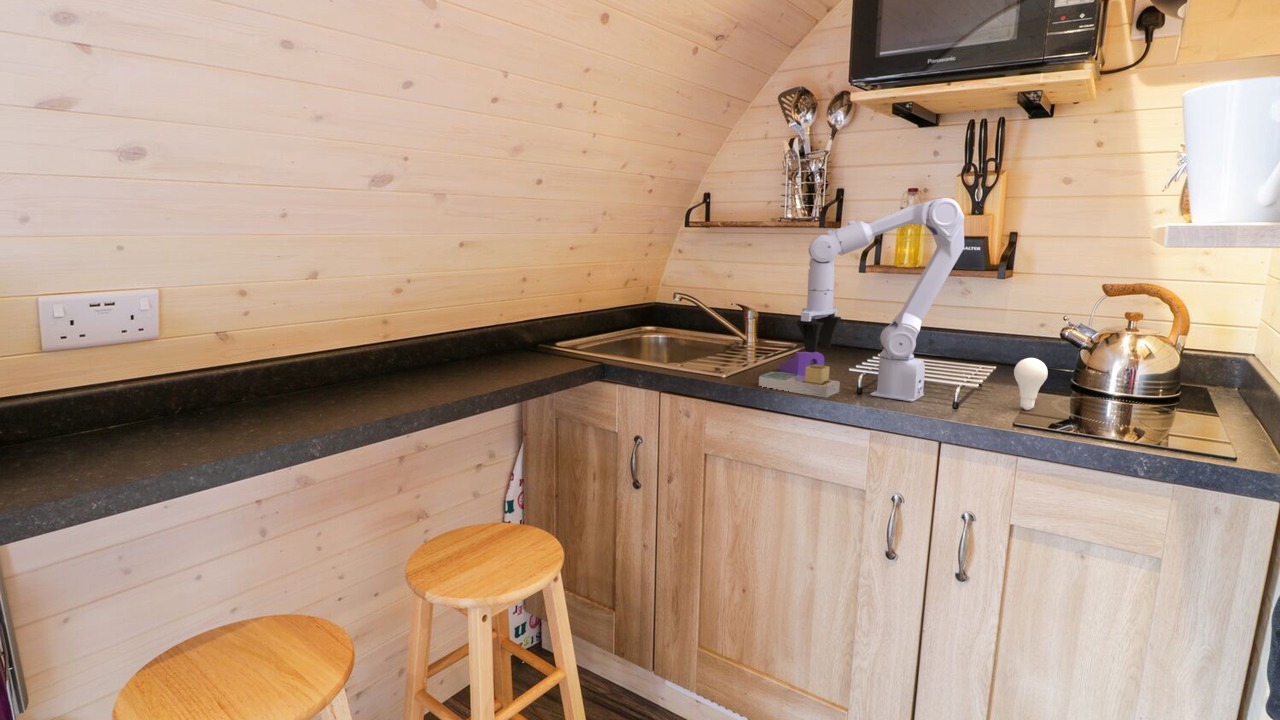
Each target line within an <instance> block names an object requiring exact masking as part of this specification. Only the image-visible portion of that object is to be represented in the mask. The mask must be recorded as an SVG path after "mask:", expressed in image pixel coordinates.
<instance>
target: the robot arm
mask: <svg viewBox="0 0 1280 720" xmlns="http://www.w3.org/2000/svg"><path fill="white" fill-rule="evenodd" d="M965 218H966V217H965V214H964V212H963V211H962V209H961V206H960V205H959V203H958V201H956V200H955V199H953V198H950V197H949V198H948V197H942V198H939V199H932V200H929V201H926V202H921V203H917V204H914V205H909V206H906V207H904V208H901V209H900V210H897V211H894V212H892V213H890V214H888V215H884V216H883V217H881V218H879V219H876V220H873V221H871V222H868V223H866V222H865V221H862V220H857V221H855V219H854V220H853V219H852V220H849V221H848V222H847V225H845V226H842V227H840V228H837V229H835V230H833V229H829V230H827V232H826V233H827V235H826V234H821V235H820V236H816V237H814V239H812V240H811V242H810V244H809V247H808V255H809V256H810V258H809V259H810V260H809V268H808V275H807V276H808V277H807V296H806V297H807V299H806V300H807V301H806V307H805V308H803V307H802V310H801V311H802V312H801V314H800V319H797V321H796V324H797V326H798V329H799V330H800V333H801V336H802V341H803V344H804V345H803V346H804V349H805V350H804V351H805V352H812V353H815V352H817V348H818V342H819V346H820V348H825V349H830V348H831V345H832V343H833V339H834V335H835V333H836V330H837V327H838V326H839V324H840V322H841V321H842V317H841V316H837V315H838V307H837V306H834V297H835V279H836V278H835V277H836V276H835V274H836V269H835V258H836V256H837V255H839V256H844V255H846V254H849V253H852V252H854V251H857V250H860V249H861V248H864V247H868V246H869V245H870V243H871V241H872V239H873V238H874V237H876V236H879V235H882V234H884V233H887V232H889V231H893V230H897V229H899V228H901V227H905V226H907V225H919V226H921V225H924V226H926V228H927V229H928V230H929V231H930V233H931V234H932V237H933V239H934V242H935V245H936V248H935V250H934V252H933V253H932V254H931V257H930V259H929V261H928V263H927V264H926V266H925V268H924V270H923V271H922V273H921V275H920V277H919V279H917V282H916V284H915V285H914V287H913V289H912V291H911V293H910V295H909V296H908V298H907V299H906V301H905V303H904V305H903V306H902V308H901V309H900V312H899V313H897V315H896V316H895V317H894V319H893V320H892V321H891V323H890V324H889V325H888V326H885V328H883V329H882V331H881V333H880V336H879V338H880V343H881V345H882V347H883V350H882V351H881V352H880V353H879V357H878V373H877V389H876V390H875V391H873V392H871V393H870V396H873V397H878V398H886V399H893V400H899V401H904V402H911V403H913V402H915V401H917V400H918V399H920V398H922V397H923V396H925V394H924V387H925V386H924V385H925V373H926V365H925V361H924V360H923V359H917V358H915V354H914V351H915V349H916V346H917V337H918V335H919V333H920V331H921V326H922V322H923V320H924V319H925V317H926V316H927V314H928V312H929V310H930V308H931V306H932V304H933V303H934V301H935V299H936V298H937V296H938V294H939V293H940V291H941V289H942V288H943V285H944V283H945V282H946V280H947V278H948V276H949V275H950V273H951V271H952V270H953V268H954V267H955V264H956V263H957V261H958V259H959V258H960V256H961V254H962V253H963V251H964V248H965V228H964V227H965V226H964V222H965Z"/></svg>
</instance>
